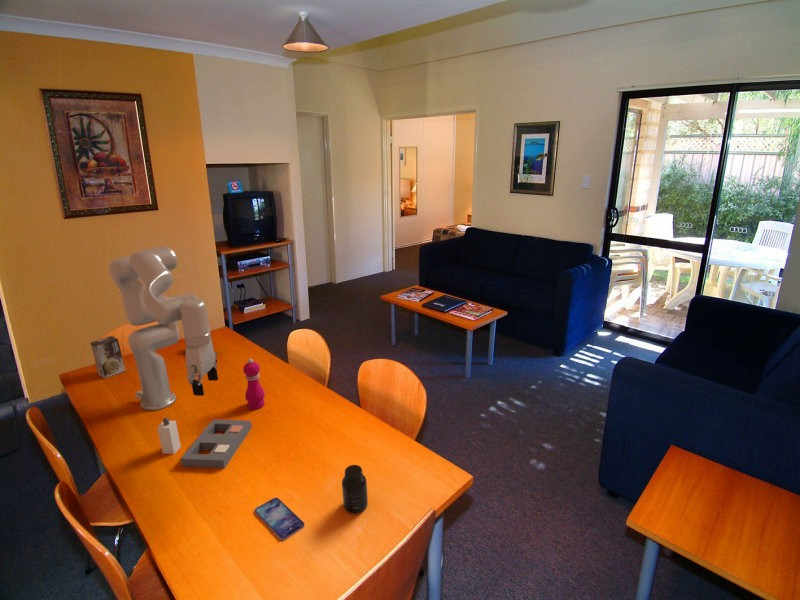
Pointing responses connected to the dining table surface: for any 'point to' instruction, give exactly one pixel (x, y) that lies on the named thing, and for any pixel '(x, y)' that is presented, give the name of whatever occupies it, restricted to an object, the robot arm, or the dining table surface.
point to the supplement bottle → (354, 490)
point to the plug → (169, 436)
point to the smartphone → (279, 518)
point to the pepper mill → (253, 385)
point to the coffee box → (108, 356)
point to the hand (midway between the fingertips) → (206, 387)
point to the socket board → (217, 444)
